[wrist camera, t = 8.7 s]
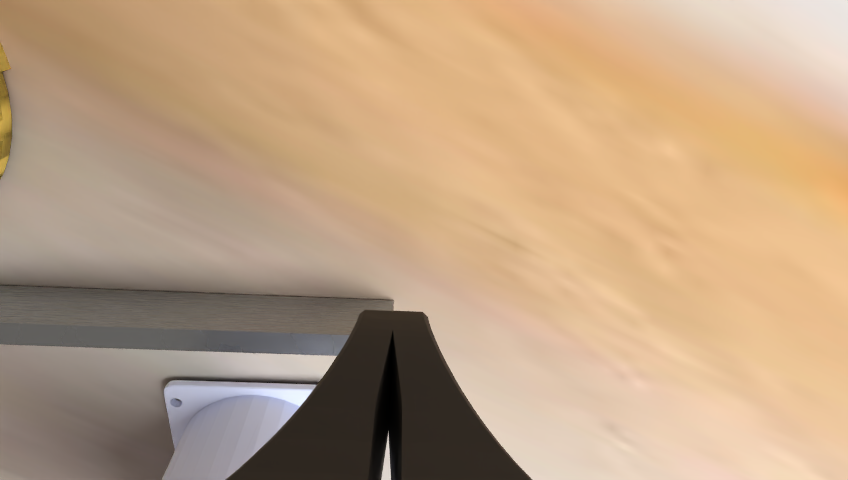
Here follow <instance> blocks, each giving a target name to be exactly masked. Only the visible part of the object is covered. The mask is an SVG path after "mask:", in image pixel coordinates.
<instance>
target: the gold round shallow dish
mask: <svg viewBox="0 0 848 480" xmlns="http://www.w3.org/2000/svg"><path fill="white" fill-rule="evenodd" d="M9 69H11V68H10V65H9V62H8V60H7V57H6V55H5V52H4V50H3V47H2V45H1V43H0V179H1V177H2V175H3V173H4V170H5V167H6V164H7V161H8V157H9V153H10V146H11V139H12V115H11V109H10V102H9V95H8V91H7V88H6V84H5V80H4V77H3V73H2V71H5V70H9Z"/></svg>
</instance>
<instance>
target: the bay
mask: <svg viewBox="0 0 848 480" xmlns="http://www.w3.org/2000/svg"><path fill="white" fill-rule="evenodd" d="M393 304H394V300H371V299H345V298H319V297H293V296H267V295H241V294H215V293H189V292H164V291H138V290H112V289H86V288H60V287H34V286H8V285H0V344H7V345H37V346H66V347H95V348H125V349H154V350H184V351H213V352H243V353H272V354H301V355H331V356H338V354H339V353H340V351H341V349H342V348H343V346H344V344H345V343H346V341H347V339H348V337H349V336H350V334H351V332H352V330H353V328H354V326H355V324H356V322H357V319H358V316H359V314H360V313H361V312H363V311H364V310H384V311H393Z"/></svg>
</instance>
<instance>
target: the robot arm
mask: <svg viewBox="0 0 848 480" xmlns="http://www.w3.org/2000/svg"><path fill="white" fill-rule="evenodd" d="M164 398H165V403H166V408H167V413H168V418H169V424H170V429H171V434H172V439H173V444H174V449H175V452H174V454H173V456H172V458H171V461H170V463H169V465H168V467H167V469H166V471H165V473H164V476H163V478H162V480H381V477H382V470H383V463H384V457H385V450H386V443H387V437H388V430H389V448H390V467H391V480H532V479H531V478H530V477H529V476H528V475H527V474H526V473H525V472H524V471H523V470H522V469H521V468H520V467H519V466H518V465H517V463H516V462H515V461H514V460H513V459H512V458H511V457H510V455H509V454H508V453H507V452H506V451H505V449H504V448H503V447H502V446H501V445H500V444H499V442H498V441H497V440H496V438H495V437H494V436H493V435H492V433H491V432H490V431H489V429H488V428H487V427H486V426H485V424H484V423H483V421H482V420H481V419H480V417H479V416H478V414H477V413H476V411H475V410H474V409H473V407H472V405H471V404H470V402H469V401H468V399H467V398H466V396H465V395H464V393H463V392H462V390H461V388H460V386H459V385H458V383H457V381H456V380H455V378H454V376H453V374H452V372H451V371H450V369H449V367H448V365H447V363H446V361H445V359H444V357H443V355H442V353H441V351H440V349H439V347H438V345H437V342H436V340H435V338H434V335H433V333H432V330H431V327H430V324H429V321H428V317H427V316H426V315H425V314H424V313H423V312H410V311H384V310H364V311H363V312H361V313H360V314H359V316H358V319H357V322H356V324H355V326H354V328H353V330H352V332H351V334H350V336H349V337H348V339H347V341H346V343H345V344H344V346H343V348H342V349H341V351H340V353H339V354H338V356H337V357H336V359H335V360H334V362H333V363H332V365H331V366H330V368H329V369H328V371H327V372H326V374H325V375H324V376H323V378H322V379H321V380H320V382H319V383H318V384H317V385H312V384H280V383H248V382H217V381H185V380H174V381H170V382H168V384H167V385H166V387H165V389H164ZM175 398H176V399H179V400H181V401H178V400H176V399H175Z"/></svg>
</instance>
